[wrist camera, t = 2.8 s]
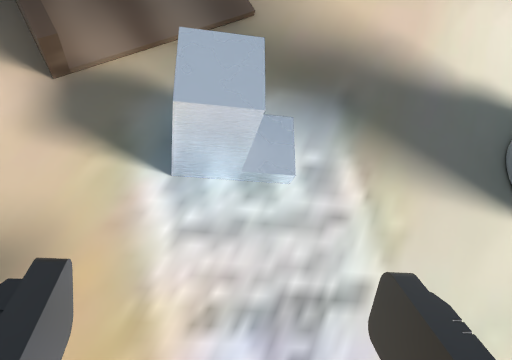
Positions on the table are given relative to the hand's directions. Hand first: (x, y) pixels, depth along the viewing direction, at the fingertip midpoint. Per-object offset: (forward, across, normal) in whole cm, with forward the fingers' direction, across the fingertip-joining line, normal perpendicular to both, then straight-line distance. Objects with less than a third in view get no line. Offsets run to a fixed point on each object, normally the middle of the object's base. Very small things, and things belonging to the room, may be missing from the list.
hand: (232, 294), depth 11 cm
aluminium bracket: (+19, -2, +2) cm, 19 cm away
